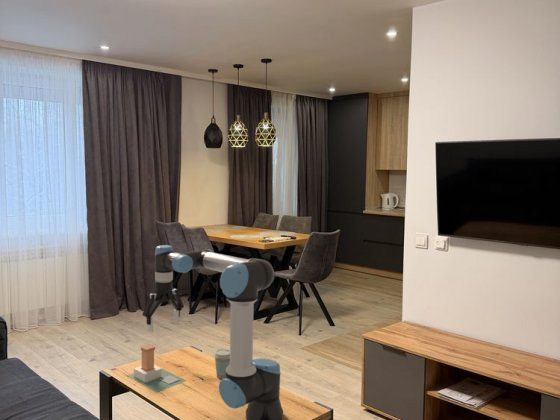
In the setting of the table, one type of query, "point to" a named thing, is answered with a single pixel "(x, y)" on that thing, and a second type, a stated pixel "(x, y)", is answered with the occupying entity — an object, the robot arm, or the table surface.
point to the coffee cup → (222, 362)
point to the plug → (147, 357)
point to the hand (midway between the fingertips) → (163, 327)
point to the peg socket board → (156, 378)
